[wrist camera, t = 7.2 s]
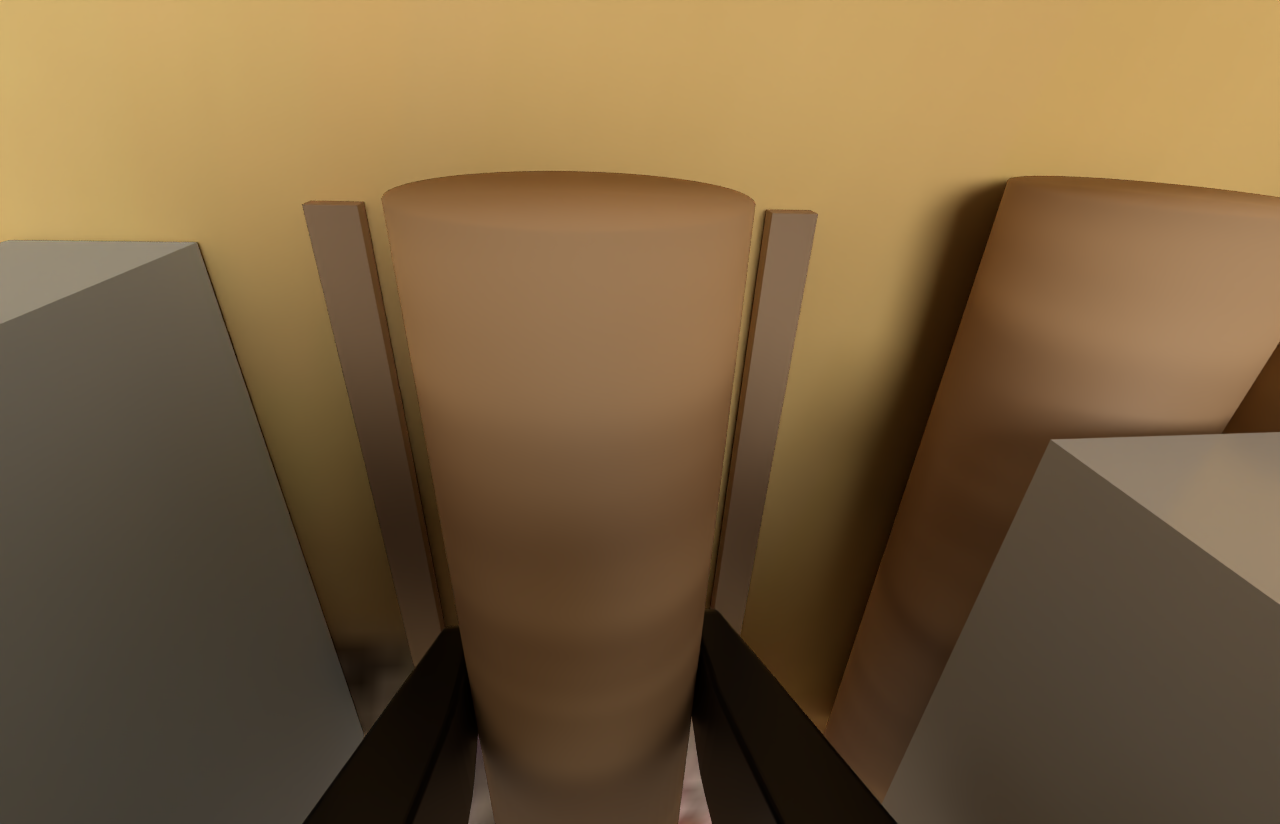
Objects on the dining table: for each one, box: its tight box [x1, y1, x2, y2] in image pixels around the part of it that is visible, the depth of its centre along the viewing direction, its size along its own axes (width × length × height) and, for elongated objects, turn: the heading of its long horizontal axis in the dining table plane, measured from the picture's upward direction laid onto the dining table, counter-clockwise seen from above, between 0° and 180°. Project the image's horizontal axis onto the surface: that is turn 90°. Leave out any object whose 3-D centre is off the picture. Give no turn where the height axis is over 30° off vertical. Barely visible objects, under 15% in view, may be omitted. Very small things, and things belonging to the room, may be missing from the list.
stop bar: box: [0, 240, 364, 824], centre depth 7 cm, size 10×2×5 cm, turn 178°
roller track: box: [302, 176, 1280, 804], centre depth 9 cm, size 12×17×3 cm
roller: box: [381, 171, 755, 824], centre depth 8 cm, size 12×3×3 cm, turn 178°
